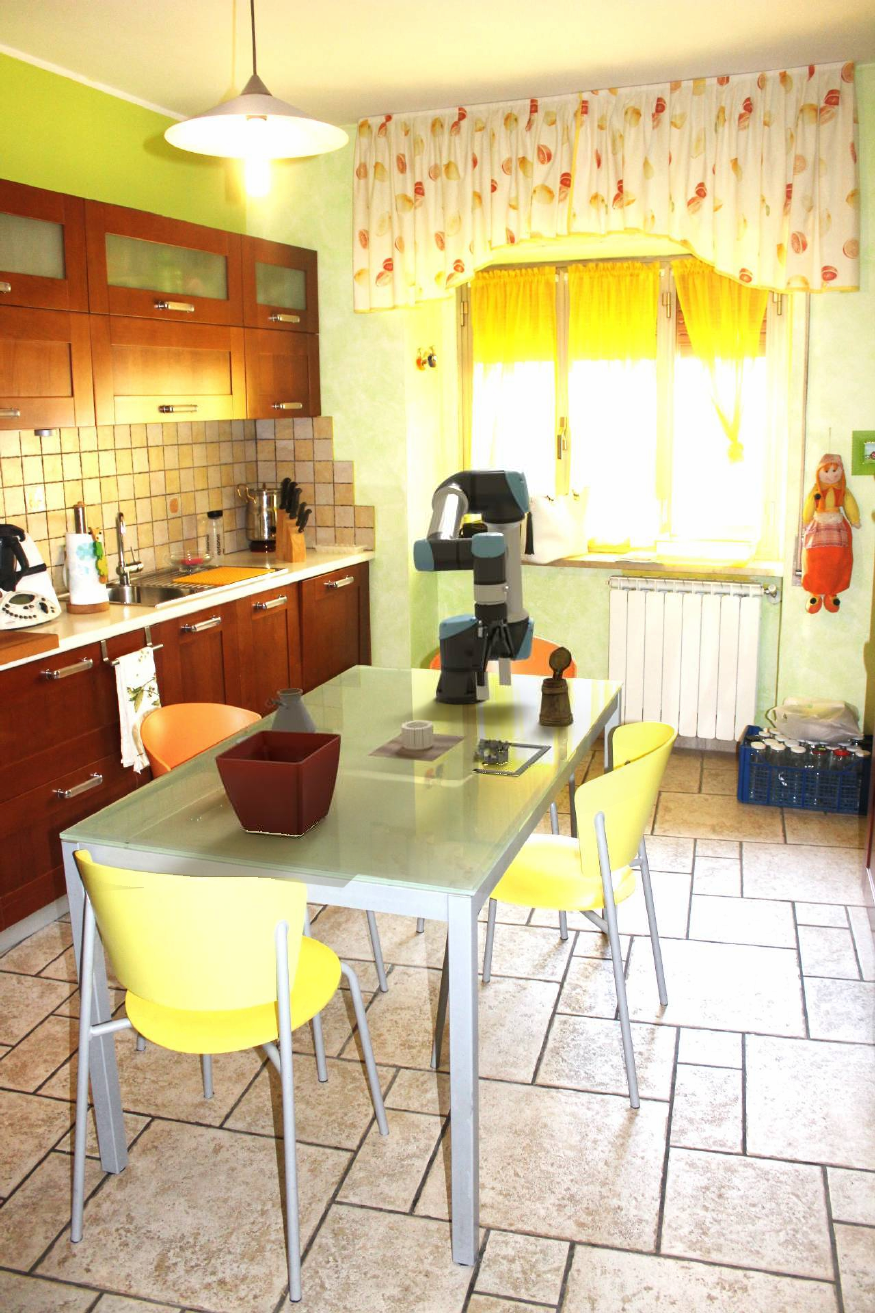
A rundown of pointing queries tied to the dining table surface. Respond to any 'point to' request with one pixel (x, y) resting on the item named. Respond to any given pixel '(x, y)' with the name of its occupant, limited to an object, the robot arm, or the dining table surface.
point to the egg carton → (493, 751)
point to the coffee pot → (291, 712)
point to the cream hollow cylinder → (417, 735)
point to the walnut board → (397, 750)
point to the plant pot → (281, 779)
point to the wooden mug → (556, 691)
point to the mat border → (525, 765)
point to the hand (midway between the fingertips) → (494, 692)
